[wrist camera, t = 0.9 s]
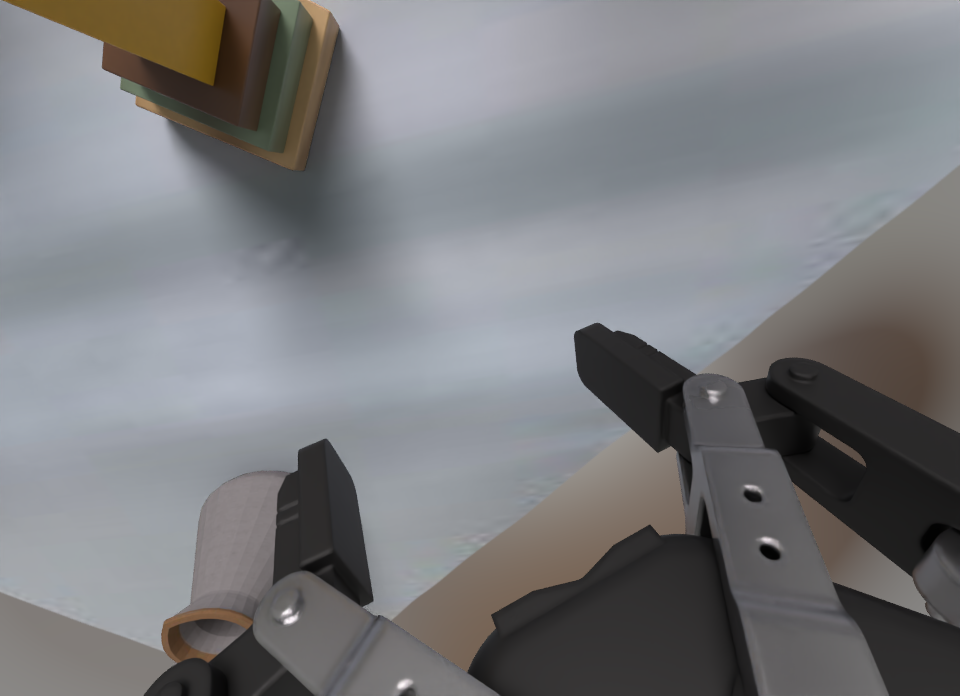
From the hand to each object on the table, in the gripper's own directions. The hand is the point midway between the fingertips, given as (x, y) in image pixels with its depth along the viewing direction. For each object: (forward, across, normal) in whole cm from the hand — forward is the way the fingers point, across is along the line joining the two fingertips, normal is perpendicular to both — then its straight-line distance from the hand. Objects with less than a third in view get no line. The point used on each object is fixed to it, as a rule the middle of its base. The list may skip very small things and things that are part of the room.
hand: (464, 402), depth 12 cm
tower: (+25, +3, -11) cm, 27 cm away
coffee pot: (+23, +21, +24) cm, 39 cm away
